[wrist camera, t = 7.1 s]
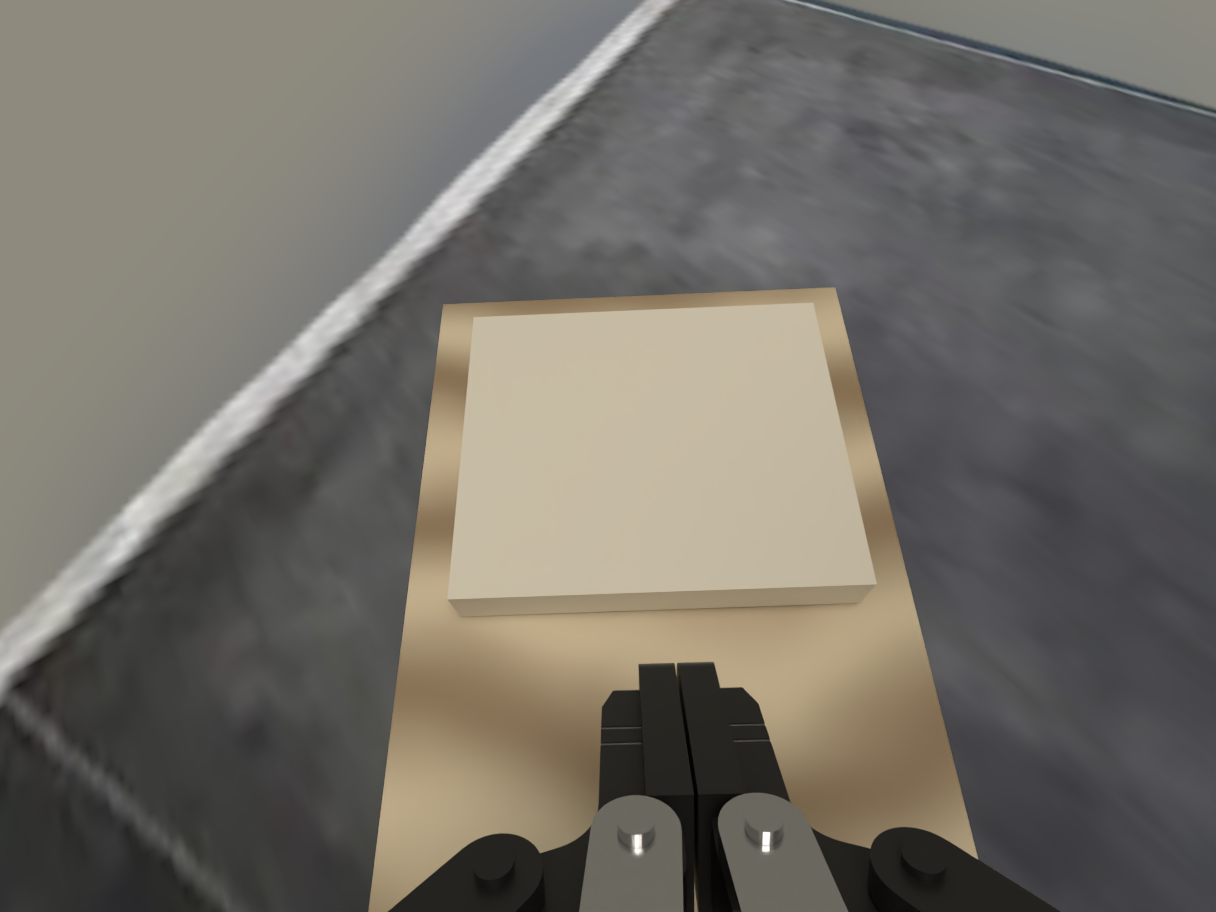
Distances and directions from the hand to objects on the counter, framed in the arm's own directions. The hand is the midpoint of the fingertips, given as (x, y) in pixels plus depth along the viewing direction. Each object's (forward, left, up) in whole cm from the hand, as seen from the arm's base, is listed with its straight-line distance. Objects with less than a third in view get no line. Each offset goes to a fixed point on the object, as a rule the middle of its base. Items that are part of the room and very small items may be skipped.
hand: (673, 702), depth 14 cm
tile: (-4, -3, -8) cm, 10 cm away
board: (-6, -4, -11) cm, 13 cm away
